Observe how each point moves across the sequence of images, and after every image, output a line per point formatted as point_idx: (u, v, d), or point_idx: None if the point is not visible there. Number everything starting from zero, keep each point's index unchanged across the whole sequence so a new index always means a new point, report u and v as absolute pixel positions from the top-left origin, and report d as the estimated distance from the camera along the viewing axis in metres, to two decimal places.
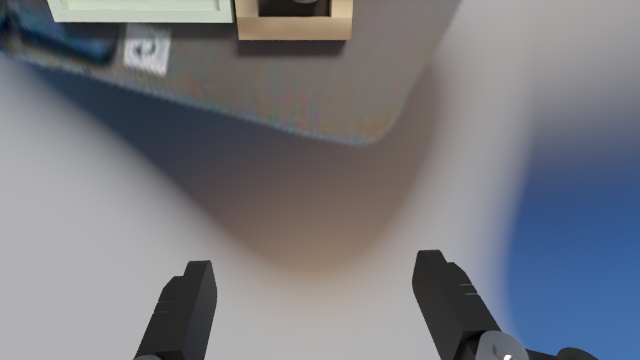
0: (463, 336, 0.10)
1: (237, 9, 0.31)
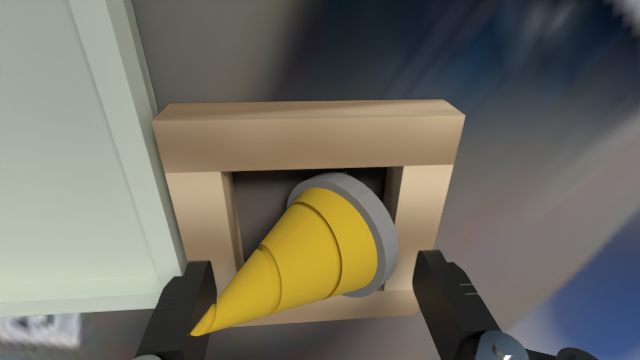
0: (463, 336, 0.10)
1: None
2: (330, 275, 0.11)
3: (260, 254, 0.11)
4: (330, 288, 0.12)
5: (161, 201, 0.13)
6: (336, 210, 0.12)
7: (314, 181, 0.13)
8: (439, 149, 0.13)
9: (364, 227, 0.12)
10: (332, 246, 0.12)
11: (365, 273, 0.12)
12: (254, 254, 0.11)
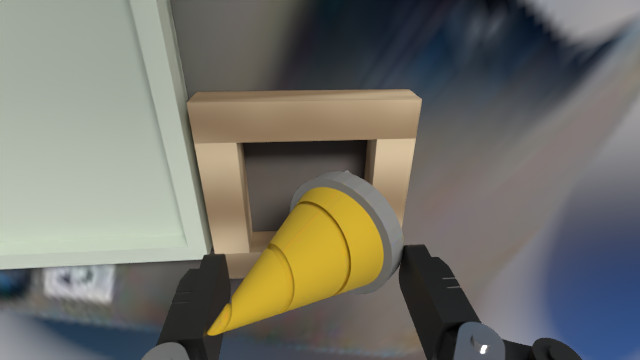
0: (443, 327, 0.10)
1: (215, 246, 0.19)
2: (340, 271, 0.12)
3: (271, 253, 0.11)
4: (339, 285, 0.12)
5: (189, 167, 0.17)
6: (343, 208, 0.12)
7: (319, 181, 0.14)
8: (403, 126, 0.17)
9: (371, 225, 0.12)
10: (341, 244, 0.12)
11: (372, 269, 0.13)
12: (265, 253, 0.12)
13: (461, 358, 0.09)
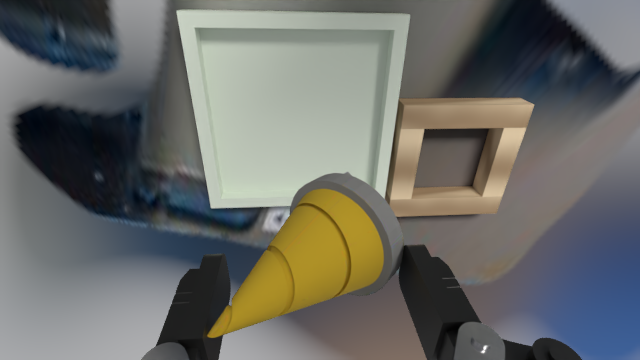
0: (443, 327, 0.10)
1: (392, 193, 0.31)
2: (340, 273, 0.12)
3: (271, 255, 0.11)
4: (340, 287, 0.12)
5: (391, 143, 0.28)
6: (343, 210, 0.12)
7: (320, 182, 0.14)
8: (521, 120, 0.28)
9: (371, 227, 0.12)
10: (341, 246, 0.12)
11: (372, 271, 0.13)
12: (265, 255, 0.12)
13: (461, 358, 0.09)
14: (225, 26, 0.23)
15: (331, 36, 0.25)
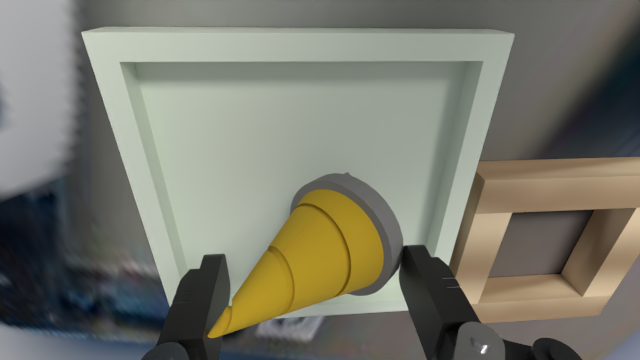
0: (443, 327, 0.10)
1: None
2: (340, 274, 0.12)
3: (272, 256, 0.11)
4: (339, 287, 0.12)
5: (457, 232, 0.18)
6: (343, 211, 0.12)
7: (320, 183, 0.14)
8: None
9: (371, 227, 0.12)
10: (341, 246, 0.12)
11: (372, 271, 0.13)
12: (265, 256, 0.12)
13: (461, 358, 0.09)
14: (177, 59, 0.12)
15: (367, 70, 0.14)
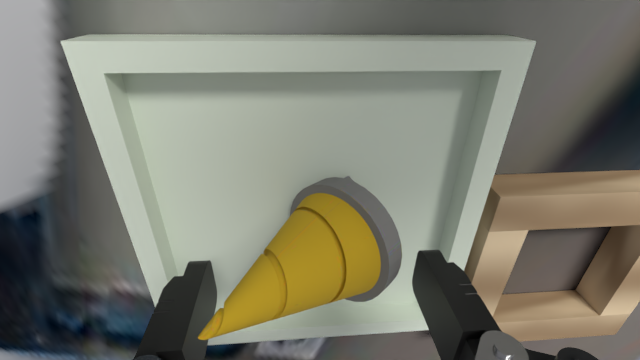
0: (463, 336, 0.10)
1: None
2: (334, 279, 0.12)
3: (266, 259, 0.11)
4: (334, 292, 0.12)
5: (469, 251, 0.17)
6: (340, 215, 0.12)
7: (318, 186, 0.13)
8: None
9: (367, 233, 0.12)
10: (336, 251, 0.12)
11: (369, 278, 0.12)
12: (260, 259, 0.12)
13: None
14: (167, 70, 0.11)
15: (374, 80, 0.13)
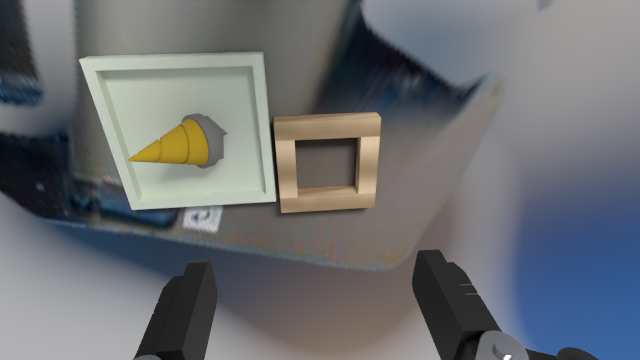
0: (463, 336, 0.10)
1: (281, 193, 0.37)
2: (184, 147, 0.30)
3: (157, 139, 0.30)
4: (186, 154, 0.30)
5: (271, 152, 0.35)
6: (190, 125, 0.31)
7: (186, 116, 0.32)
8: (373, 130, 0.35)
9: (200, 131, 0.31)
10: (185, 137, 0.30)
11: (202, 150, 0.31)
12: None
13: None
14: (118, 68, 0.30)
15: (207, 71, 0.32)
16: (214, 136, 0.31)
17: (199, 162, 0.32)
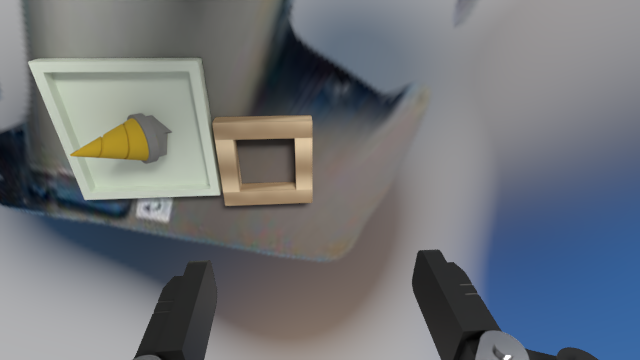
0: (463, 336, 0.10)
1: (223, 188, 0.41)
2: (124, 144, 0.33)
3: None
4: (126, 150, 0.33)
5: (212, 150, 0.38)
6: (131, 124, 0.34)
7: (129, 116, 0.35)
8: (306, 132, 0.38)
9: (140, 130, 0.34)
10: (126, 135, 0.33)
11: (142, 147, 0.34)
12: (98, 137, 0.33)
13: None
14: (65, 71, 0.33)
15: (149, 75, 0.35)
16: (153, 135, 0.34)
17: (141, 158, 0.35)
